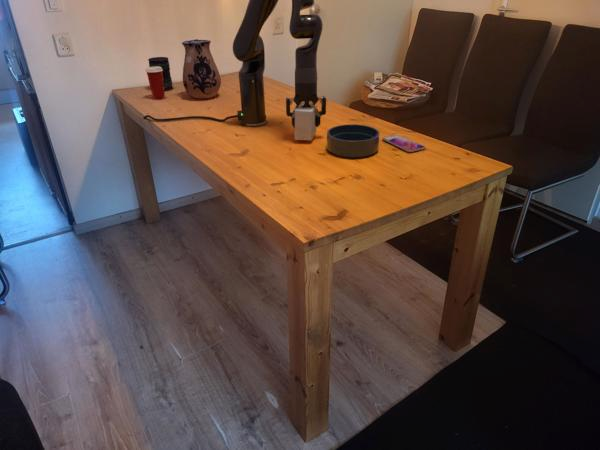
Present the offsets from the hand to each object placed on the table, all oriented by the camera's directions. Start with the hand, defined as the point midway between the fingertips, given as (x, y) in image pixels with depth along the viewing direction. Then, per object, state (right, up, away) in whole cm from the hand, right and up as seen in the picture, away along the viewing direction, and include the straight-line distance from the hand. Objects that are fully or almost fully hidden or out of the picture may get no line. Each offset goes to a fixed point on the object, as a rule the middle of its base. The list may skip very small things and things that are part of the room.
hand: (306, 126), depth 160 cm
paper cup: (-70, +26, +56) cm, 93 cm away
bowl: (+16, -9, -8) cm, 20 cm away
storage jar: (-72, +35, +72) cm, 108 cm away
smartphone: (+33, -7, -5) cm, 34 cm away
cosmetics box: (0, -3, +2) cm, 3 cm away
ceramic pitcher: (-49, +27, +58) cm, 81 cm away
